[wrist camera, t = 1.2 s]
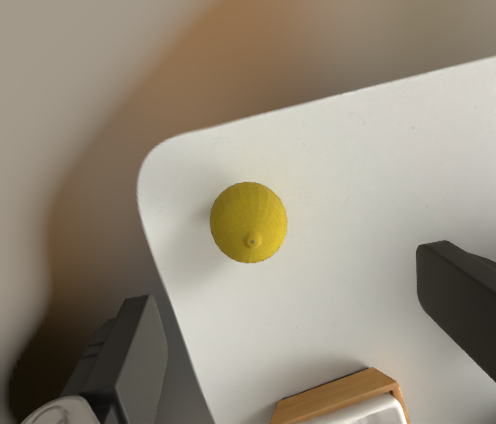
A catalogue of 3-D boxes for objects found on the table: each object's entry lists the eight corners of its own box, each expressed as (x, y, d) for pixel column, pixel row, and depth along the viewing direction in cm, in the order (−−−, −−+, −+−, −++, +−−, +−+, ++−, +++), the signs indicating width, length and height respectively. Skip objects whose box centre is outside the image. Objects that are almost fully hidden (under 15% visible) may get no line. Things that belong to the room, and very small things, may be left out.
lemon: (259, 161, 28) (274, 182, 20) (288, 219, 30) (311, 258, 22) (199, 191, 28) (191, 224, 21) (230, 247, 30) (233, 296, 22)
